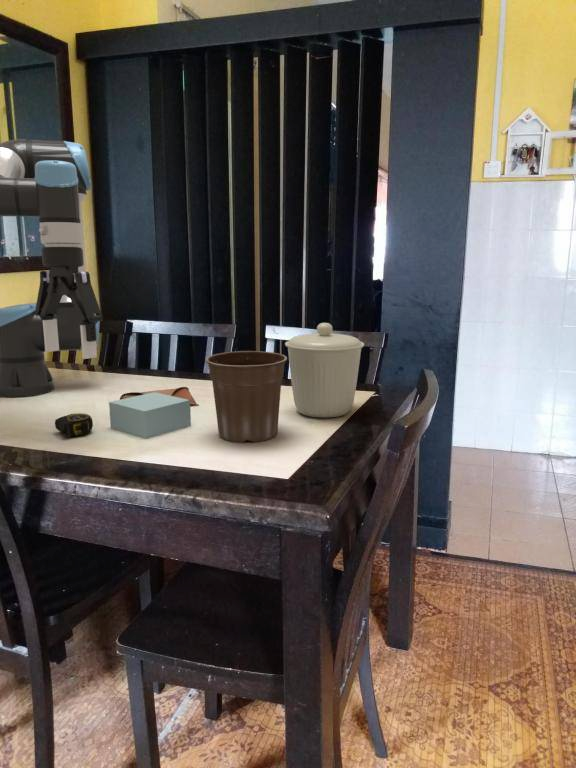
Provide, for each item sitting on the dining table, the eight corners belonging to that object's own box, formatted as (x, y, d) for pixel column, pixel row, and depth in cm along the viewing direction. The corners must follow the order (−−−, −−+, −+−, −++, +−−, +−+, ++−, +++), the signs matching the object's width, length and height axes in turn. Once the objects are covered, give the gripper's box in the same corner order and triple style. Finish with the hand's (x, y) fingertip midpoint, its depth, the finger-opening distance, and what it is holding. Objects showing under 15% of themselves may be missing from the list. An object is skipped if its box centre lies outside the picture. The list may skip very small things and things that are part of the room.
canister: (335, 427, 127) (336, 329, 123) (269, 414, 138) (268, 323, 133) (376, 410, 141) (379, 322, 137) (313, 399, 152) (314, 317, 147)
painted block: (110, 429, 127) (109, 402, 126) (155, 417, 136) (154, 392, 135) (146, 440, 120) (144, 411, 119) (191, 426, 129) (190, 400, 128)
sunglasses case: (129, 415, 137) (123, 387, 139) (122, 423, 143) (117, 397, 145) (201, 405, 146) (195, 379, 148) (192, 413, 152) (187, 389, 154)
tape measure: (54, 433, 124) (53, 415, 123) (88, 427, 128) (86, 410, 127) (63, 441, 119) (61, 423, 118) (97, 435, 122) (96, 418, 122)
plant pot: (257, 452, 112) (256, 367, 108) (191, 438, 120) (188, 359, 117) (301, 430, 125) (301, 355, 122) (239, 419, 134) (238, 348, 130)
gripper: (11, 246, 120) (21, 350, 124) (81, 245, 105) (89, 363, 109) (45, 246, 126) (54, 346, 130) (117, 245, 110) (123, 358, 115)
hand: (70, 354), depth 120 cm, fingers open, 13 cm apart
